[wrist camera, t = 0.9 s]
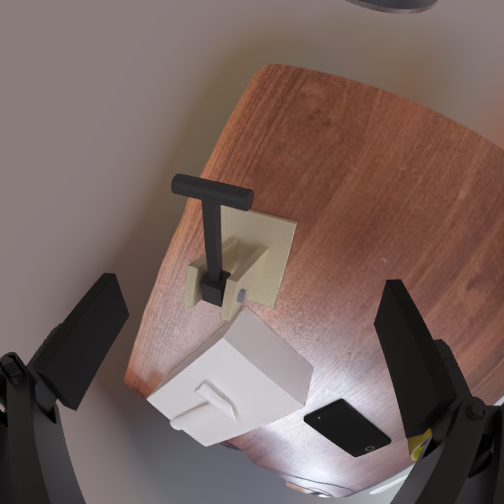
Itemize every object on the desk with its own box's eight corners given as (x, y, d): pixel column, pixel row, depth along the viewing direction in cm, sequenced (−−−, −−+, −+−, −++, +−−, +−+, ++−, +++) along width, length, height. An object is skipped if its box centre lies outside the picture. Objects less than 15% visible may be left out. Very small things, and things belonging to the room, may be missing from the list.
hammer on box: (313, 367, 40) (301, 419, 30) (222, 417, 50) (200, 455, 40) (245, 305, 40) (215, 348, 30) (169, 372, 50) (139, 406, 40)
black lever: (184, 167, 20) (166, 182, 19) (256, 183, 19) (243, 200, 18) (196, 277, 30) (186, 293, 28) (248, 296, 28) (239, 313, 27)
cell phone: (355, 454, 43) (355, 458, 42) (302, 416, 43) (301, 420, 42) (391, 439, 39) (391, 443, 39) (342, 397, 40) (341, 401, 39)
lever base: (224, 201, 36) (169, 219, 25) (297, 221, 34) (274, 250, 22) (210, 281, 41) (162, 324, 29) (275, 303, 38) (246, 359, 27)
